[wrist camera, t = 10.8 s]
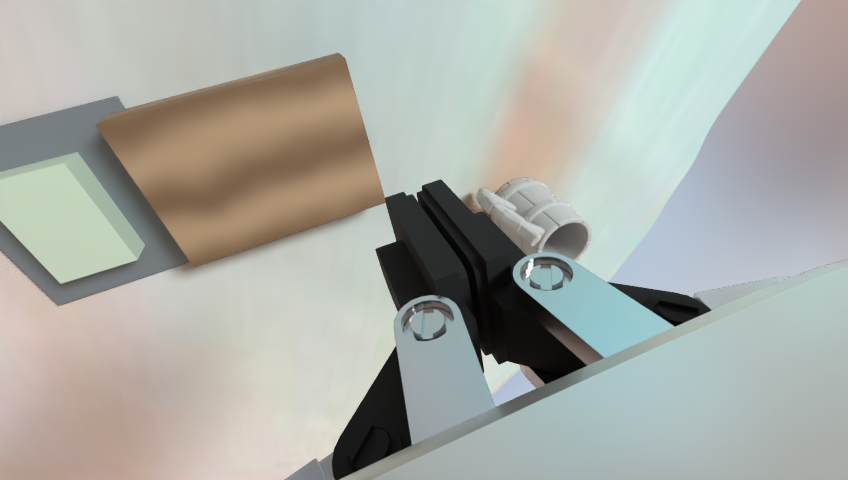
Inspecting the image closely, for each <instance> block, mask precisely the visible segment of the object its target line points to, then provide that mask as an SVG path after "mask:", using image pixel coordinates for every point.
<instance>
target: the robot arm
mask: <svg viewBox="0 0 848 480" xmlns="http://www.w3.org/2000/svg"><path fill="white" fill-rule="evenodd" d="M417 198H418V201H417V200H416V199H415V197H414V196H413V195H412V194H411V195H408V196H406V194H405V193H404V192H401V193H398V194H395V195H392V196H389V197H386V198H385V201H386V205H387V209H388V213H389V216H390V220H391V223H392V227H393V230H394V234H395V237H396V241H397V242H394V243H391V244H388V245H385V246H382V247H380V248H377V249H376V253H377V256H378V259H379V262H380V265H381V269H382V272H383V274H384V277H385V280H386V283H387V286H388V288H389V291H390V294H391V296H392V299H393V301H394V304H395V306H396V309H397V311H398V313H397V315H396V317H395V320H394V334H395V340H396V347H395V348H394V350H393V352H392V353H391V355H390V356H389V358H388V360H387V361H386V363H385V365H384V366H383V368H382V369H381V371H380V373H379V374H378V376H377V377H376V379H375V381H374V382H373V384H372V386H371V387H370V389H369V390H368V392H367V394H366V395H365V397H364V399H363V400H362V402H361V403H360V405H359V407H358V408H357V410H356V412H355V413H354V415H353V416H352V418H351V420H350V421H349V423H348V425H347V426H346V428H345V429H344V431H343V433H342V434H341V436H340V438H339V440H338V442H337V444H336V446H335V448H334V452H333V453H331V454H330V455H329V456H327V457H326V458H324V459H323V460H322V461H320V462H318V461H317V459H316V458H315V459H314V460H312V461H311V462H309V463H308V464H307V465H305V466H304V467H302V468H301V469H299V470H298V471H296V472H295V473H294V474H292V475H291V476H289V477H288V478H286V479H285V480H848V259H846V260H842V261H839V262H835V263H832V264H828V265H824V266H820V267H817V268H814V269H812V270H809V271H806V272H803V273H801V274H798V275H795V276H792V277H774V278H769V279H764V280H759V281H754V282H748V283H743V284H739V285H733V286H728V287H723V288H718V289H713V290H708V291H703V292H697V293H694V297H693V298H692V297H689V296H687V295H683V294H678V293H674V292H667V291H661V290H654V289H647V288H642V287H634V286H629V285H622V284H615V283H609V282H605V281H604V280H602V279H601V278H599V277H598V276H596V275H595V274H593V273H592V272H590V271H589V270H587V269H585V268H584V267H582V266H581V265H579V264H578V263H576V262H575V261H573V260H572V259H570V258H568V257H566V256H564V255H561V254H556V253H549V252H541V253H535V254H531V255H528V256H527V255H526V254H525V253H524V252H523V251H522V250H521V249H520V248H519V247H518V246H517V245H516V244H515V243H514V242H513V241H512V240H511V239H510V238H509V237H508V236H507V235H506V234H505V233H504V232H503V231H502V230H501V229H500V228H499V227H498V226H497V225H496V224H495V223H494V222H493V221H492V220H491V219H490V218H489V217H488V216H487V215H486V214H485V213H483V212H478V213H475V214H473V213H472V212H471V211H470V210H469V209H468V207H467V206H466V205H465V204H464V203H463V202H462V201H461V200H460V199H459V198H458V197H457V196H456V195H455V194H454V193H453V192H452V191H451V189H450V188H449V187H448V186H447V185H446V184H445V183H444V182H443V181H442V180H437V181H434V182H431V183H428V184H425V185H422V191H420V192H417ZM418 202H419V203H418ZM481 350H482V351H483V353H484V354H485V355H486V356H487V355H489V354H492V355H493V356H494V358H495V360H496V361H497V363H498V364H501V363H504V362H506V361H509V362H513V363H516V364H520V368H521V371H522V372H523V374H524V375H525V376H526V378H527V379H528V380H529V381H530V382H531V383H532V384H533V385H534V386H535V387H536V389H535V390H533V391H530V392H528V393H526V394H524V395H521V396H519V397H517V398H515V399H513V400H510V401H508V402H506V403H504V404H502V405H500V406H497V407H495V405H494V402H493V399H492V396H491V393H490V391H489V388H488V385H487V382H486V380H485V377H484V374H483V373H484V367H483V361H482V355H481Z"/></svg>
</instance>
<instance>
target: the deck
mask: <svg viewBox="0 0 848 480" xmlns="http://www.w3.org/2000/svg"><path fill="white" fill-rule="evenodd" d="M96 127H97V128H98V130H99V131H100V133H101V134H102V136H103V137H104V138H105V140H106V141H107V143H108V144H109V146H110V147H111V149H112V150H113V151H114V153H115V154H116V156H117V157H118V159H119V160H120V161H121V163H122V164H123V166H124V167H125V169H126V170H127V172H128V173H129V174H130V176H131V177H132V179H133V180H134V182H135V183H136V185H137V186H138V187H139V189H140V190H141V192H142V193H143V195H144V196H145V197H146V199H147V200H148V202H149V203H150V205H151V206H152V208H153V209H154V210H155V212H156V213H157V215H158V216H159V218H160V219H161V221H162V222H163V223H164V225H165V226H166V228H167V229H168V231H169V232H170V233H171V235H172V236H173V238H174V239H175V241H176V242H177V244H178V245H179V246H180V248H181V249H182V251H183V252H184V254H185V255H186V256H187V258H188V259H189V261H190V262H191V264H192V265H193V267H196V266H199V265H202V264H205V263H208V262H211V261H214V260H217V259H219V258H222V257H225V256H228V255H231V254H234V253H237V252H240V251H243V250H246V249H249V248H252V247H255V246H258V245H261V244H264V243H267V242H270V241H273V240H276V239H279V238H282V237H285V236H288V235H291V234H294V233H297V232H300V231H303V230H306V229H309V228H312V227H315V226H318V225H321V224H324V223H327V222H330V221H333V220H336V219H339V218H342V217H345V216H348V215H351V214H354V213H357V212H359V211H362V210H365V209H368V208H371V207H374V206H377V205H380V204H383V203H386V201H385V197H384V194H383V190H382V187H381V183H380V180H379V176H378V173H377V169H376V165H375V162H374V158H373V155H372V151H371V148H370V144H369V141H368V137H367V134H366V130H365V127H364V123H363V120H362V116H361V112H360V109H359V105H358V102H357V98H356V95H355V91H354V88H353V84H352V81H351V77H350V74H349V70H348V67H347V63H346V59H345V58H344V57H343V56H342V55H341V54H339V53H336V54H333V55H329V56H325V57H321V58H318V59H314V60H310V61H306V62H302V63H299V64H295V65H291V66H287V67H283V68H280V69H276V70H272V71H268V72H264V73H261V74H257V75H253V76H249V77H245V78H242V79H238V80H234V81H230V82H226V83H223V84H219V85H215V86H211V87H208V88H204V89H200V90H196V91H192V92H189V93H185V94H181V95H177V96H173V97H170V98H166V99H162V100H158V101H154V102H151V103H147V104H143V105H139V106H135V107H132V108H128V109H125V110H123V111H120V112H116V113H112V114H109V115H108V116H107V117H105V118H104V119H102V120H101V121H100V122H98V123H97V124H96Z"/></svg>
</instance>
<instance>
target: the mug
mask: <svg viewBox="0 0 848 480" xmlns="http://www.w3.org/2000/svg"><path fill="white" fill-rule="evenodd" d="M476 199H477V202H478V203H479V204H480V205H481V207H482V208H483V209H484V210H485V211H486V212H487V213H488V214H489V215H491V216H490V217H491V220H492V221H493V222H494V223H495V224H496V225H497V226H498V227H499V228H500V229H501V230H502V231H503V232H504V233H505V234H506V235H507V236H508V237H509V238H510V239H511V240H512V241H513V242H514V243H515V244H516V245H517V246H518V247H519V248H520V249H521V250H522V251H523V252H524V253H525V254H526V255H527V256H528V255H531V254H535V253H541V252H549V253H556V254H561V255H564V256H566V257H568V258H570V259H572V260H573V261H575V262H576V261H578V260H579V257H580V256H581V255H582V254H583V253H584V252H585V250H586V249H587V248H588V246H589V244H590V241H591V237H592V232H591V228H590V225H589V224H588V223H587V222H586V221H585V220H584V219H583V218H581V217H580V216H579V215H578V214H576V211H575V210H574V209H573V207H572V206H570V205H569V204H568V203H566V202H564V201H562V200H559V199H557V198H556V197H555V196H553V195H552V193H551V191H550V190H549V188H548V187H547V186H546V185H544V184H543V183H542V182H540V181H538V180H534V179H530V178H519V179H514V180H511V181H509V182H508V184H507V183H506V184H504V185H503V186H502V187H501V188H500V189H499V190H498V191H497V193H496V194H494V193H492V192H491V191H489V190H486V189H483V188H480V189H479V191H478V193H477V197H476Z"/></svg>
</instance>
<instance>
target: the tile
mask: <svg viewBox="0 0 848 480" xmlns="http://www.w3.org/2000/svg"><path fill="white" fill-rule="evenodd" d="M0 221H1V222H2V223H3V224H4V225H5V226H6V227H7V228H8V229H9V230H10V231H11V232H12V233H13V234H14V235H15V237H16V238H17V239H18V240H19V241H20V242H21V243H22V244H23V245H24V246H25V247H26V248H27V249H28V250H29V251H30V252H31V253H32V254H33V255H34V256H35V258H36V259H37V260H38V261H39V262H40V263H41V264H42V265H43V266H44V267H45V268H46V269H47V270H48V271H49V272H50V273H51V274H52V275H53V276H54V277H55V279H56V280H57V281H58V282H59V283H60V284H62V283H65V282H68V281H71V280H75V279H78V278H81V277H84V276H88V275H91V274H94V273H97V272H101V271H104V270H107V269H110V268H113V267H117V266H120V265H123V264H126V263H130V262H133V261H136V260H138V258H139V256H140V254H141V252H142V250H143V248H144V246H145V244H144V243H143V241H142V240H141V239H140V237H139V236H138V234H137V233H136V232H135V230H134V229H133V228H132V226H131V225H130V223H129V222H128V221H127V219H126V218H125V217H124V215H123V214H122V212H121V211H120V210H119V208H118V207H117V206H116V204H115V203H114V201H113V200H112V199H111V197H110V196H109V195H108V193H107V192H106V190H105V189H104V188H103V186H102V185H101V184H100V182H99V181H98V179H97V178H96V177H95V175H94V174H93V173H92V171H91V170H90V168H89V167H88V166H87V164H86V163H85V162H84V160H83V159H82V157H81V156H80V155H79V153H78V152H76V153H72V154H68V155H64V156H60V157H56V158H52V159H48V160H44V161H41V162H37V163H33V164H29V165H25V166H21V167H17V168H13V169H9V170H6V171H2V172H0Z"/></svg>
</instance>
